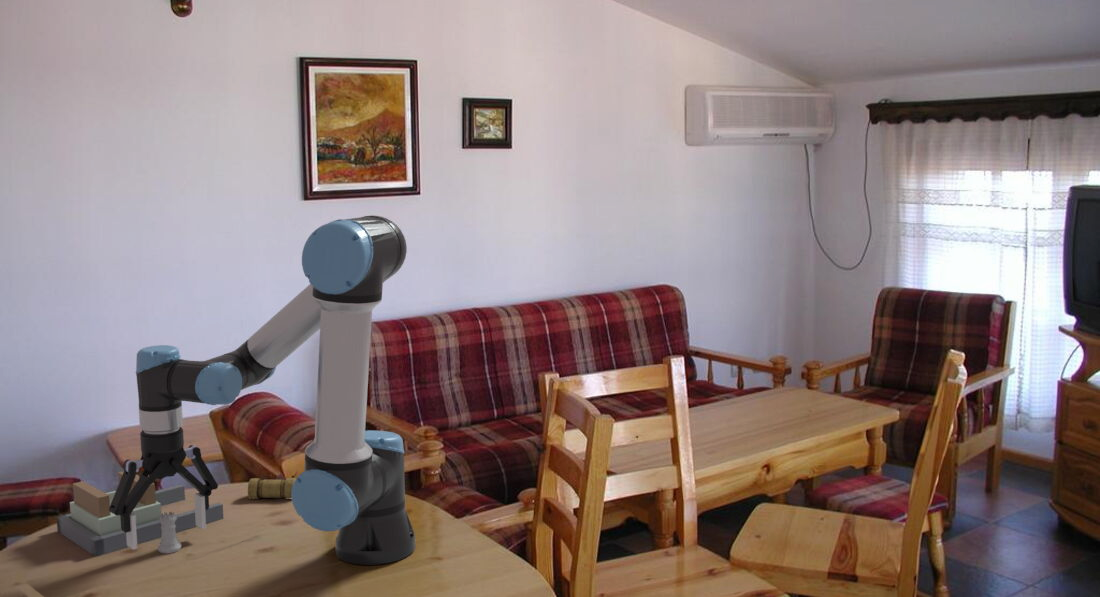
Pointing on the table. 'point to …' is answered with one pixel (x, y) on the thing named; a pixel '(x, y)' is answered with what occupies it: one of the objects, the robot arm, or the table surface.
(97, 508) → the mint green base plate
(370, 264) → the robot arm
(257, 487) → the gavel
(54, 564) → the table surface
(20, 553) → the table surface
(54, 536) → the table surface
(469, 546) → the table surface
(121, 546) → the bay
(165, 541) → the rook chess piece
